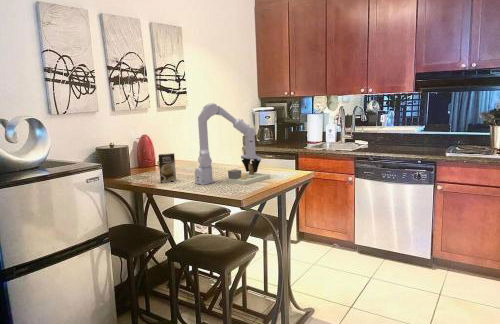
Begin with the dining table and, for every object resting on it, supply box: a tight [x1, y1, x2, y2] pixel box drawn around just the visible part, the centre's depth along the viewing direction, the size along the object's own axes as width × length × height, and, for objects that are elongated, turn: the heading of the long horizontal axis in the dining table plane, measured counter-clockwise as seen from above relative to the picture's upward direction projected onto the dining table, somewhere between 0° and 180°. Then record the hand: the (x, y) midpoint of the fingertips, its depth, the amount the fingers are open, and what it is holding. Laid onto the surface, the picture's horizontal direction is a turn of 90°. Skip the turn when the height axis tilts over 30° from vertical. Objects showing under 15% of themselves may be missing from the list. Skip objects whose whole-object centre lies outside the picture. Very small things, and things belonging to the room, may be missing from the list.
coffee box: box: [158, 153, 177, 183], centre depth 219 cm, size 9×6×16 cm
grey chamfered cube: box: [227, 169, 242, 179], centre depth 208 cm, size 5×5×4 cm
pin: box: [248, 162, 254, 175], centre depth 216 cm, size 3×3×6 cm
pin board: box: [225, 172, 271, 186], centre depth 210 cm, size 20×15×5 cm
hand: (251, 171), depth 216 cm, fingers open, 6 cm apart
